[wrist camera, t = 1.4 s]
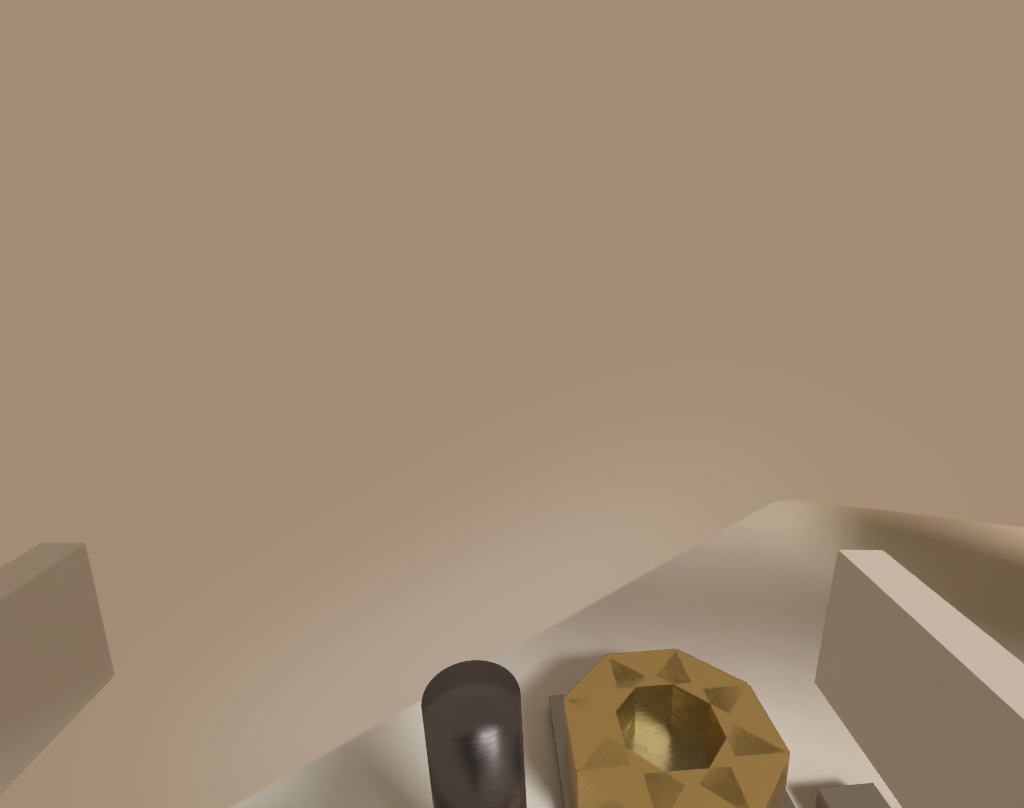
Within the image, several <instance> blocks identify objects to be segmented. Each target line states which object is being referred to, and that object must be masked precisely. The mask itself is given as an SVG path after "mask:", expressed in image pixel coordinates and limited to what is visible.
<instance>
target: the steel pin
mask: <svg viewBox="0 0 1024 808" xmlns="http://www.w3.org/2000/svg"><path fill="white" fill-rule="evenodd" d="M421 707H422V715H423V723H424V732H425V740H426V748H427V756H428V765H429V773H430V781H431V789H432V798H433V806H434V808H527V807H526V788H525V770H524V751H523V733H522V714H521V695H520V688H519V685H518V682H517V681H516V679H515V677H514V676H513V675H512V674H511V673H510V672H509V671H508V670H507V669H505V668H504V667H502V666H500V665H498V664H495V663H492V662H488V661H480V660H473V661H465V662H461V663H457V664H455V665H452V666H450V667H448V668H446V669H444V670H443V671H441V672H440V673H438V674H437V675H436V676H435V677H434V678H433V679H432V680H431V681H430V683H429V684H428V685H427V687H426V689H425V691H424V694H423V697H422V705H421Z"/></svg>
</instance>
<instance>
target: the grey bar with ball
mask: <svg viewBox="0 0 1024 808" xmlns="http://www.w3.org/2000/svg"><path fill="white" fill-rule="evenodd" d="M816 806H817V808H891V807H890V806H889V805H888V803H887V802H886V800H885V799H884V798H883V796H882V795H881V794H880V792H879V791H878V789H877V788H876V787H875V785H874V784H873V783H868V784H857V785H846V786H835V787H823V788H818V792H817V799H816Z"/></svg>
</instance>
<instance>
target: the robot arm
mask: <svg viewBox="0 0 1024 808" xmlns="http://www.w3.org/2000/svg"><path fill="white" fill-rule="evenodd" d="M113 676H114V671H113V667H112V662H111V658H110V653H109V648H108V644H107V639H106V635H105V631H104V626H103V621H102V617H101V613H100V608H99V603H98V599H97V594H96V589H95V585H94V580H93V576H92V571H91V567H90V562H89V558H88V553H87V549H86V544H85V543H41V544H39V545H38V546H36V547H34V548H33V549H31V550H29V551H28V552H26V553H24V554H23V555H21V556H19V557H18V558H16V559H14V560H13V561H11V562H10V563H8V564H6V565H5V566H3V567H1V568H0V794H1V793H2V792H3V791H4V790H5V789H6V788H7V787H8V786H9V785H10V784H11V782H12V781H13V780H14V779H15V778H16V777H17V776H18V775H19V774H20V773H21V772H22V771H23V770H24V769H25V768H26V767H27V766H28V765H29V763H31V762H32V760H34V759H35V757H36V756H37V755H38V754H39V753H40V752H41V751H42V750H43V749H44V748H45V747H46V746H47V745H48V744H49V743H50V742H51V741H52V740H53V739H54V738H55V737H56V736H57V734H58V733H59V732H60V731H61V730H62V729H63V728H64V727H65V726H66V725H67V724H68V723H69V722H70V721H71V720H72V719H73V718H74V717H75V716H76V715H77V713H78V712H80V710H81V709H82V708H83V707H84V706H85V705H86V704H87V703H88V702H89V701H90V700H91V699H92V698H93V697H94V696H95V695H96V694H97V693H98V692H99V691H100V689H102V687H103V686H104V685H105V684H106V683H107V682H108V681H109V680H110V679H111V678H112V677H113ZM815 683H816V685H817V686H818V688H819V689H820V690H821V692H822V693H823V695H824V696H825V698H826V699H827V700H828V702H829V703H830V705H831V706H832V708H833V709H834V710H835V712H836V713H837V715H838V716H839V718H840V719H841V721H842V722H843V723H844V725H845V726H846V728H847V729H848V731H849V732H850V733H851V735H852V736H853V738H854V739H855V741H856V742H857V743H858V745H859V746H860V748H861V749H862V751H863V752H864V753H865V755H866V756H867V758H868V759H869V761H870V762H871V763H872V765H873V766H874V768H875V769H876V771H877V772H878V773H879V775H880V776H881V778H882V779H883V781H884V782H885V783H886V785H887V786H888V788H889V789H890V791H891V792H892V793H893V795H894V796H895V798H896V799H897V801H898V802H899V803H900V805H901V806H902V808H1024V663H1022V662H1021V661H1020V660H1019V659H1017V658H1016V657H1015V656H1014V655H1012V654H1011V653H1010V652H1009V651H1007V650H1006V649H1005V648H1004V647H1002V646H1001V645H1000V644H999V643H997V642H996V641H995V640H994V639H993V638H991V637H990V636H989V635H988V634H986V633H985V632H984V631H983V630H981V629H980V628H979V627H978V626H976V625H975V624H974V623H973V622H971V621H970V620H969V619H968V618H966V617H965V616H964V615H963V614H961V613H960V612H959V611H958V610H956V609H955V608H954V607H953V606H952V605H950V604H949V603H948V602H947V601H945V600H944V599H943V598H942V597H940V596H939V595H938V594H937V593H935V592H934V591H933V590H932V589H930V588H929V587H928V586H927V585H925V584H924V583H923V582H922V581H920V580H919V579H918V578H917V577H915V576H914V575H913V574H912V573H911V572H909V571H908V570H907V569H906V568H904V567H903V566H902V565H901V564H899V563H898V562H897V561H896V560H894V559H893V558H892V557H891V556H889V555H888V554H887V553H886V552H884V551H883V550H838V555H837V560H836V566H835V572H834V577H833V583H832V588H831V594H830V599H829V605H828V611H827V616H826V622H825V627H824V633H823V638H822V644H821V650H820V655H819V661H818V666H817V672H816V677H815Z"/></svg>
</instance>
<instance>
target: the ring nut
mask: <svg viewBox="0 0 1024 808" xmlns="http://www.w3.org/2000/svg"><path fill="white" fill-rule="evenodd" d="M747 684H748V683H746V682H744V681H742V680H740V679H738V678H736V677H734V676H732V675H730V674H728V673H726V672H724V671H722V670H720V669H717V668H715V667H713V666H711V665H709V664H707V663H705V662H703V661H701V660H699V659H697V658H695V657H693V656H691V655H688V654H686V653H684V652H682V651H680V650H678V649H677V651H676V649H667V650H654V651H641V652H628V653H615V654H607V655H605V656H604V657H603V658H602V659H601V660H600V661H599V662H598V663H597V664H596V665H595V666H594V667H593V668H592V669H591V671H590V672H589V673H588V674H587V675H586V676H585V677H584V678H583V679H582V680H581V681H580V682H579V683H578V684H577V685H576V686H575V687H574V688H573V689H572V690H571V691H570V692H569V693H568V694H567V695H558V696H549V705H550V712H551V719H552V726H553V733H554V740H555V747H556V754H557V761H558V768H559V774H560V781H561V788H562V795H563V802H564V808H795V806H794V804H793V802H792V801H791V799H790V797H789V795H788V793H787V791H786V790H785V788H786V781H787V773H788V766H789V758H790V754H789V753H790V752H789V750H788V748H787V747H786V745H785V743H784V742H783V740H782V738H781V737H780V735H779V733H778V732H777V730H776V728H775V727H774V725H773V723H772V722H771V720H770V718H769V717H768V715H767V713H766V711H765V710H764V708H763V706H762V705H761V703H760V701H759V700H758V698H757V696H756V695H755V693H754V691H753V690H752V688H751V686H750V685H747Z"/></svg>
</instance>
